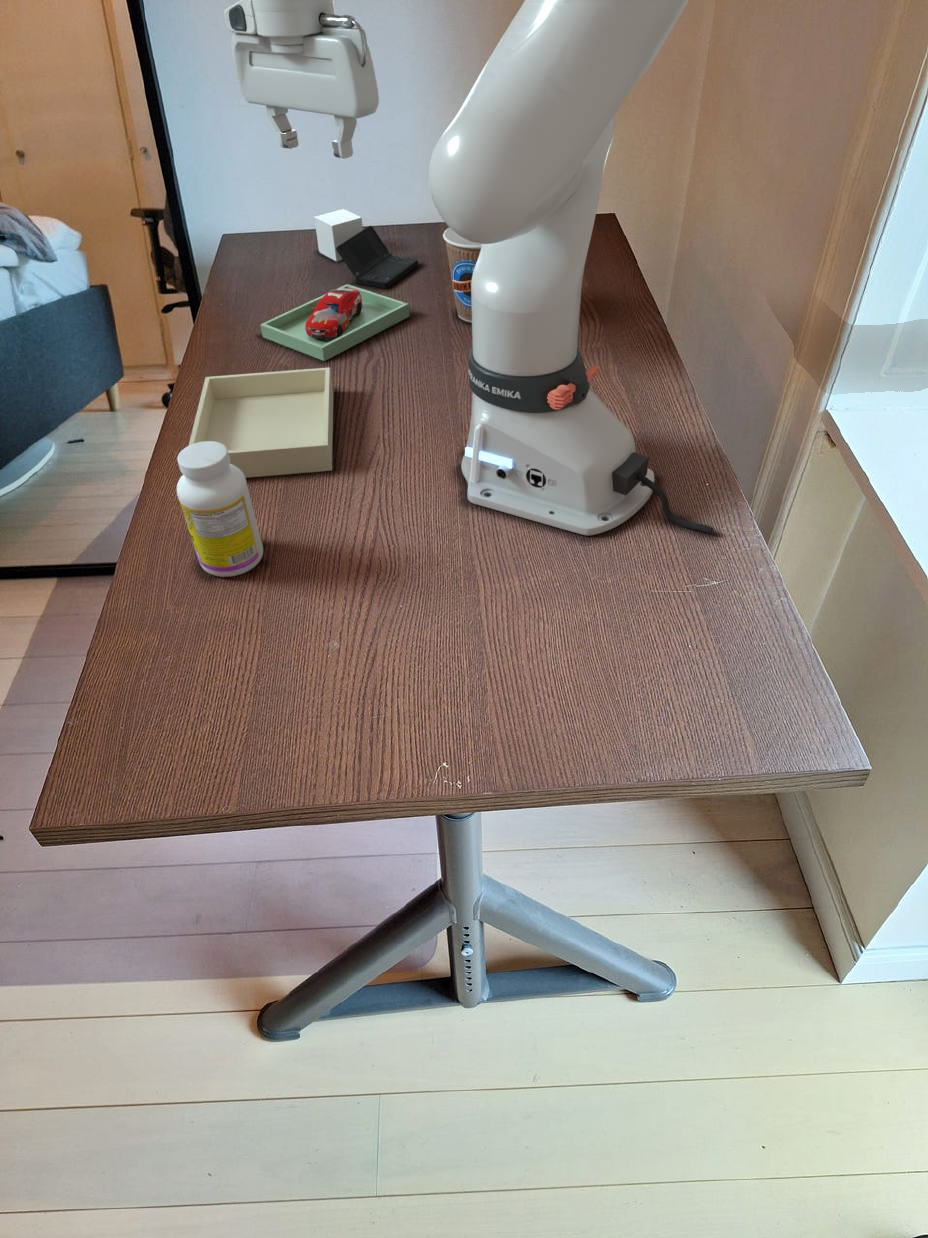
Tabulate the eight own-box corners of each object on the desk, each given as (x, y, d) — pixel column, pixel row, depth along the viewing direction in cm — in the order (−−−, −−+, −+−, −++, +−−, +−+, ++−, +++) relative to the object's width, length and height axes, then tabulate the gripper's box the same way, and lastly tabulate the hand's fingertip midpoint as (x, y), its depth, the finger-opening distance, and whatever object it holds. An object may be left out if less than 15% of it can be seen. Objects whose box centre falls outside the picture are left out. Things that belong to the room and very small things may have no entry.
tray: (409, 316, 131) (408, 303, 129) (324, 361, 121) (322, 347, 119) (348, 296, 137) (347, 283, 135) (262, 337, 127) (260, 324, 125)
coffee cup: (437, 324, 128) (432, 242, 120) (459, 297, 135) (456, 217, 127) (502, 332, 126) (502, 248, 117) (521, 303, 133) (523, 223, 124)
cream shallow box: (211, 400, 113) (205, 376, 111) (333, 391, 114) (329, 367, 112) (193, 482, 99) (185, 456, 97) (332, 470, 100) (327, 444, 98)
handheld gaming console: (398, 279, 137) (360, 223, 134) (367, 303, 141) (329, 250, 138) (423, 263, 146) (388, 210, 143) (393, 286, 150) (358, 235, 147)
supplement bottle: (212, 538, 91) (181, 433, 83) (272, 540, 91) (247, 435, 82) (190, 578, 87) (155, 472, 78) (253, 581, 86) (225, 474, 77)
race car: (335, 345, 123) (331, 318, 120) (301, 341, 124) (296, 314, 122) (369, 307, 132) (366, 281, 129) (337, 304, 133) (333, 278, 131)
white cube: (347, 243, 154) (343, 208, 150) (365, 252, 150) (361, 217, 146) (318, 252, 151) (313, 216, 147) (336, 261, 148) (331, 225, 144)
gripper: (383, 10, 89) (397, 156, 99) (256, 3, 99) (280, 135, 109) (340, 20, 86) (359, 170, 95) (213, 12, 96) (242, 148, 105)
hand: (316, 151), depth 102 cm, fingers open, 8 cm apart
